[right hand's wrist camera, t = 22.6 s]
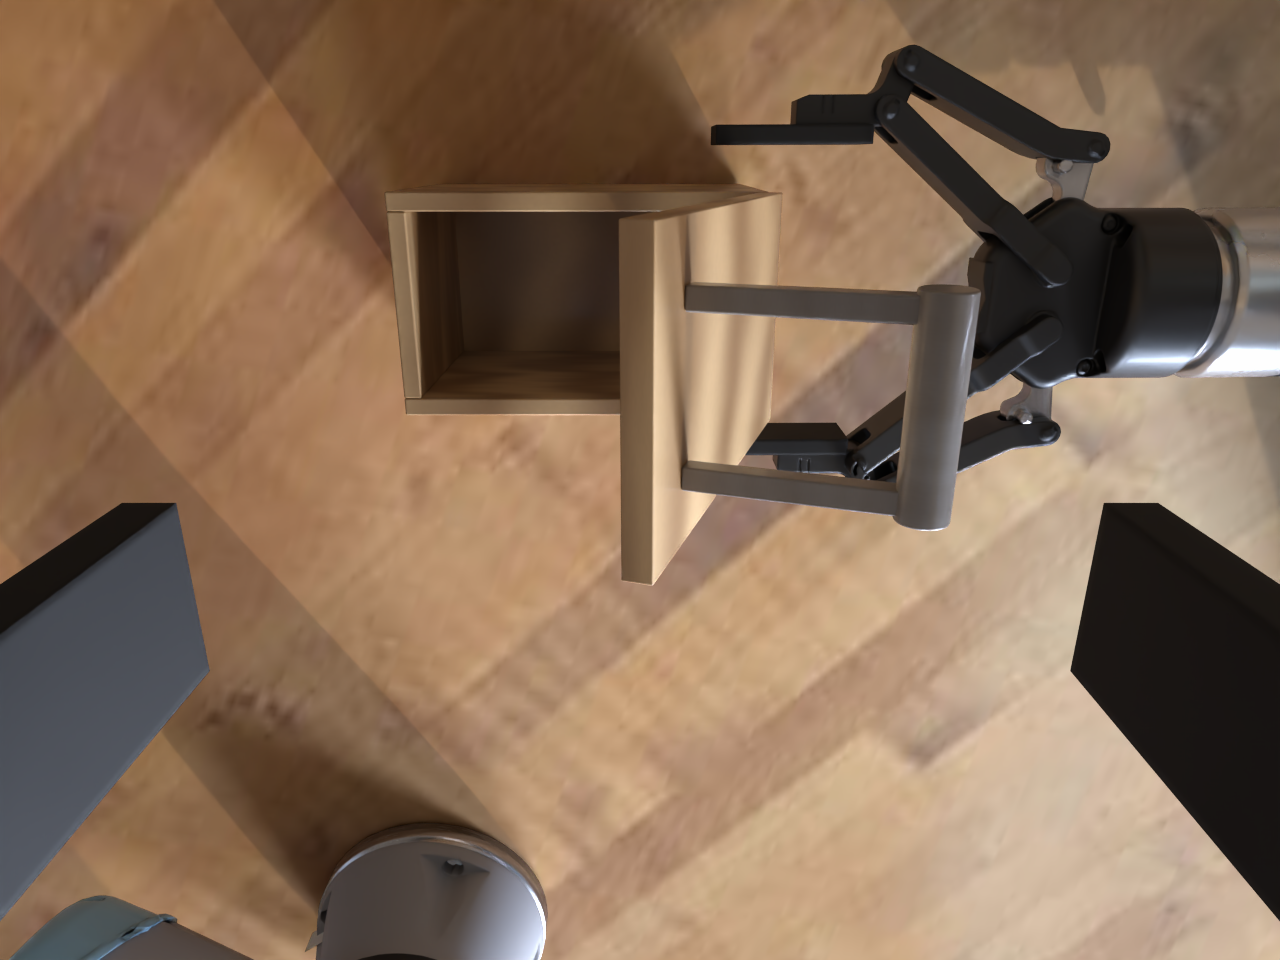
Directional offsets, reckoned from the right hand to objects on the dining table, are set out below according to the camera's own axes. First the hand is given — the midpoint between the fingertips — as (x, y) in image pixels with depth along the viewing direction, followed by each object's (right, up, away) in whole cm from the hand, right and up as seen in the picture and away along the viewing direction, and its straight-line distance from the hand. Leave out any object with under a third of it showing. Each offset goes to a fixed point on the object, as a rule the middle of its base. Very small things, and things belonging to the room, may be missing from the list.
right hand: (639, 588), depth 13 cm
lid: (+2, +6, +16) cm, 17 cm away
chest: (-2, +12, +33) cm, 35 cm away
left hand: (+3, +10, +27) cm, 29 cm away
